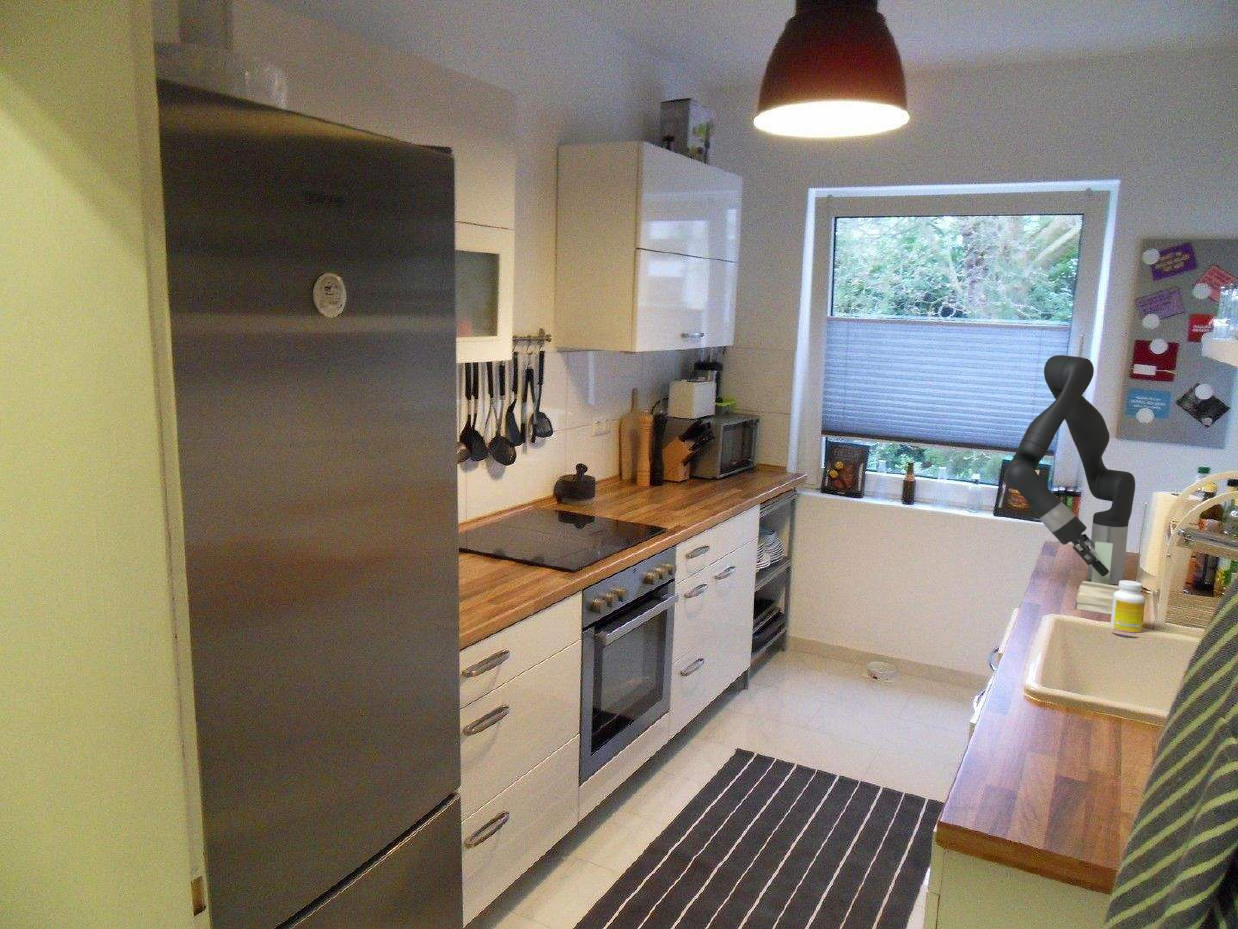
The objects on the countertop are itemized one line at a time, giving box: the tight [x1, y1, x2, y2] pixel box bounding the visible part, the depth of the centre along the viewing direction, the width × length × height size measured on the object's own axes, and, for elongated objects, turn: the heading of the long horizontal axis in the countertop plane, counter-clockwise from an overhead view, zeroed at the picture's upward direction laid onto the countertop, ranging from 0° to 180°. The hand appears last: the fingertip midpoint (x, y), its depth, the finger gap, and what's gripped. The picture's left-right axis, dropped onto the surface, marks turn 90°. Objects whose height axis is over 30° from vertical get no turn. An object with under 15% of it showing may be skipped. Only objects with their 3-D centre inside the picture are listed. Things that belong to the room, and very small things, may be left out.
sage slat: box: [1091, 542, 1113, 585], centre depth 229 cm, size 2×4×16 cm, turn 58°
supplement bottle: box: [1109, 579, 1146, 639], centre depth 207 cm, size 7×7×13 cm
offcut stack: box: [1076, 580, 1120, 615], centre depth 224 cm, size 7×10×6 cm
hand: (1107, 571), depth 228 cm, fingers open, 8 cm apart
